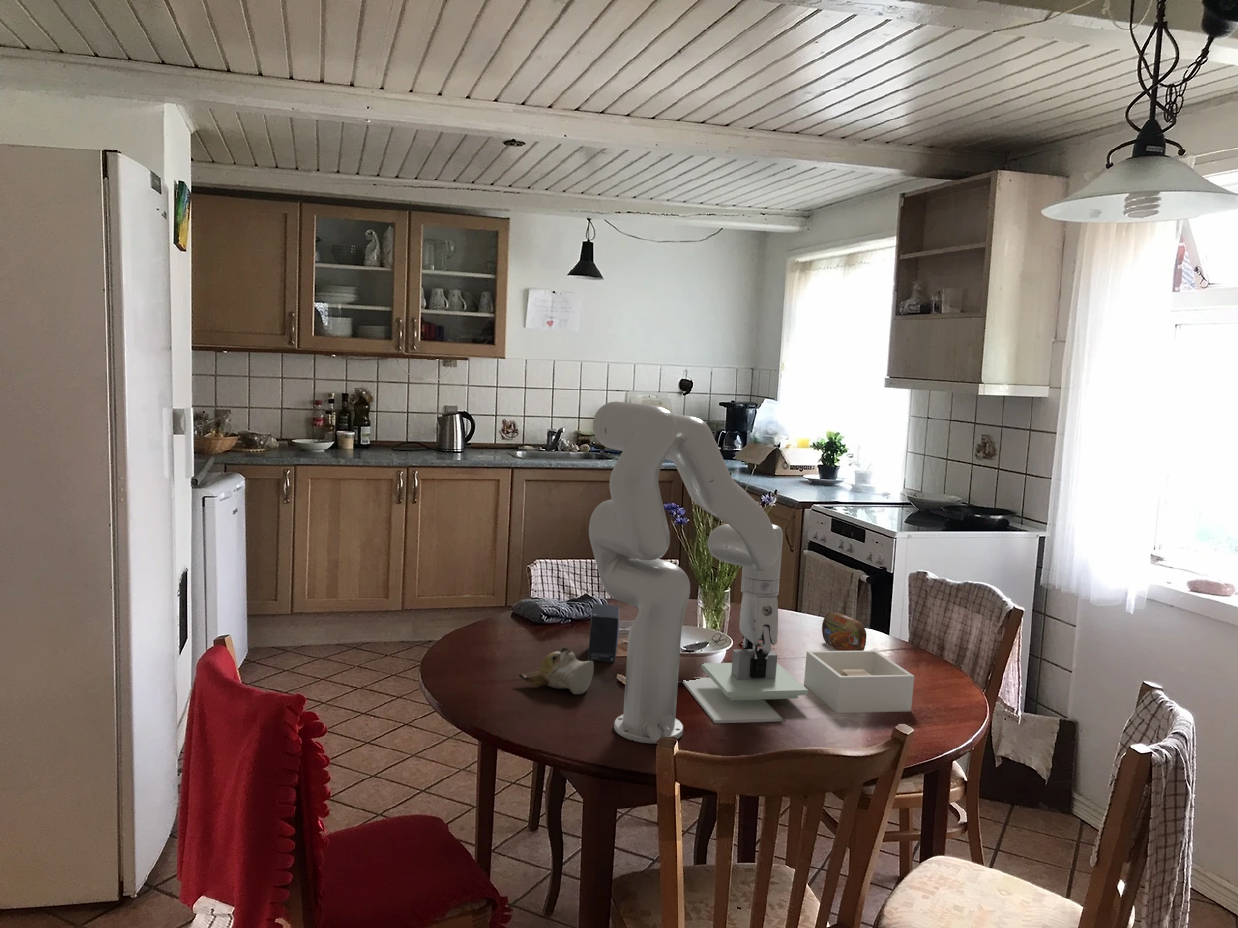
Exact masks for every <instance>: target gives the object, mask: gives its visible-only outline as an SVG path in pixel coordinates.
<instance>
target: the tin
mask: <svg viewBox="0 0 1238 928" xmlns="http://www.w3.org/2000/svg"><path fill="white" fill-rule="evenodd" d="M821 624H822V625H821V634H822V637H823V640H824V642H825V643H826V645H827V646H829V647H831V648H833V649H834V650H835V651H865V648H866V644H867V643H866V642H867V631H866V628H865V626H864V624H863V623H861V621H859V620H857V619H855V618H853V617H849V616H847V615H845V614H842V613H840V612H832V611H831V612H828V613H827V614H826V615H825V616H824V618H823V620H822V623H821Z"/></svg>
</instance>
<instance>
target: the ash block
mask: <svg viewBox="0 0 1238 928" xmlns="http://www.w3.org/2000/svg"><path fill="white" fill-rule="evenodd" d="M867 675H870V674H869V673H868V672H866V671H865V670H864V669H857V670H841V676H867Z"/></svg>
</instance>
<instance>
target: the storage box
mask: <svg viewBox="0 0 1238 928" xmlns="http://www.w3.org/2000/svg"><path fill="white" fill-rule="evenodd" d="M857 669H864V670H865V671H866V672H868V673H869V674H870V675H867V676H841V670H857ZM803 679H804V680H803V686H804V687H805V688H806V689H808V690H809V691H811V692H812V693H813V694H814V695H816V696H817V697H818V698H819V699H820V700H821V701H822V702H824V703H825V704H826V705H827V706H828V707H829V708H830V709H831V710H833V712H835V713H836V714H851V713H852V714H853V713H855V714H857V713H859V714H860V713H862V714H863V713H889V712H890V713H891V712H893V713H894V712H895V713H896V712H898V713H899V712H900V713H901V712H912V706H913V705H912V704H913V693H914V684H915V675H913V674H912V673H911V672H909V671H907V670H906V669H904V668H903V667H901V666H900V665H898V664H897V663H896V662H894V661H892V659H890V658H888V657H886V656H885V655H884V654H882V653H880V652H879V651H878V650H863V651H838V650H814V651H813V650H807V651H806V655H805V668H804V678H803Z"/></svg>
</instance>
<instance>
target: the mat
mask: <svg viewBox="0 0 1238 928" xmlns="http://www.w3.org/2000/svg"><path fill="white" fill-rule="evenodd" d="M699 678H700V679H696V680H689V681H686V680H683V682H682V684H683V685H684V687H685V688H686V689H687V690H688V691H689V693H690V694H691V695H692V696H693V698H694V699H695V700H696V702H698V704H699V705H700V706H701V708H702V709H703V710H704V712H705V714H707V715H708V717H709V718H710V719H711V720H712V722H713V724H728V723H729V724H734V723H735V724H737V723H741V724H742V723H769V722H770V723H771V722H772V723H773V722H786V720H785V719H784V717H782V715H780V714H779V713H778V712H777V711H776V709H775V708H774V707H773V706H771V705H770V704H769V703H768V702H767V700H766V699H758V700H731V699H730V698H729V697H727V696H726V695H725V694H724V693H723V692H722V691H721V690H720V688H719V687H718V686H717V685H716V684H715V683H714V682H713V680H712V679H711V678H710V677H709V676H707V677H699Z"/></svg>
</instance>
